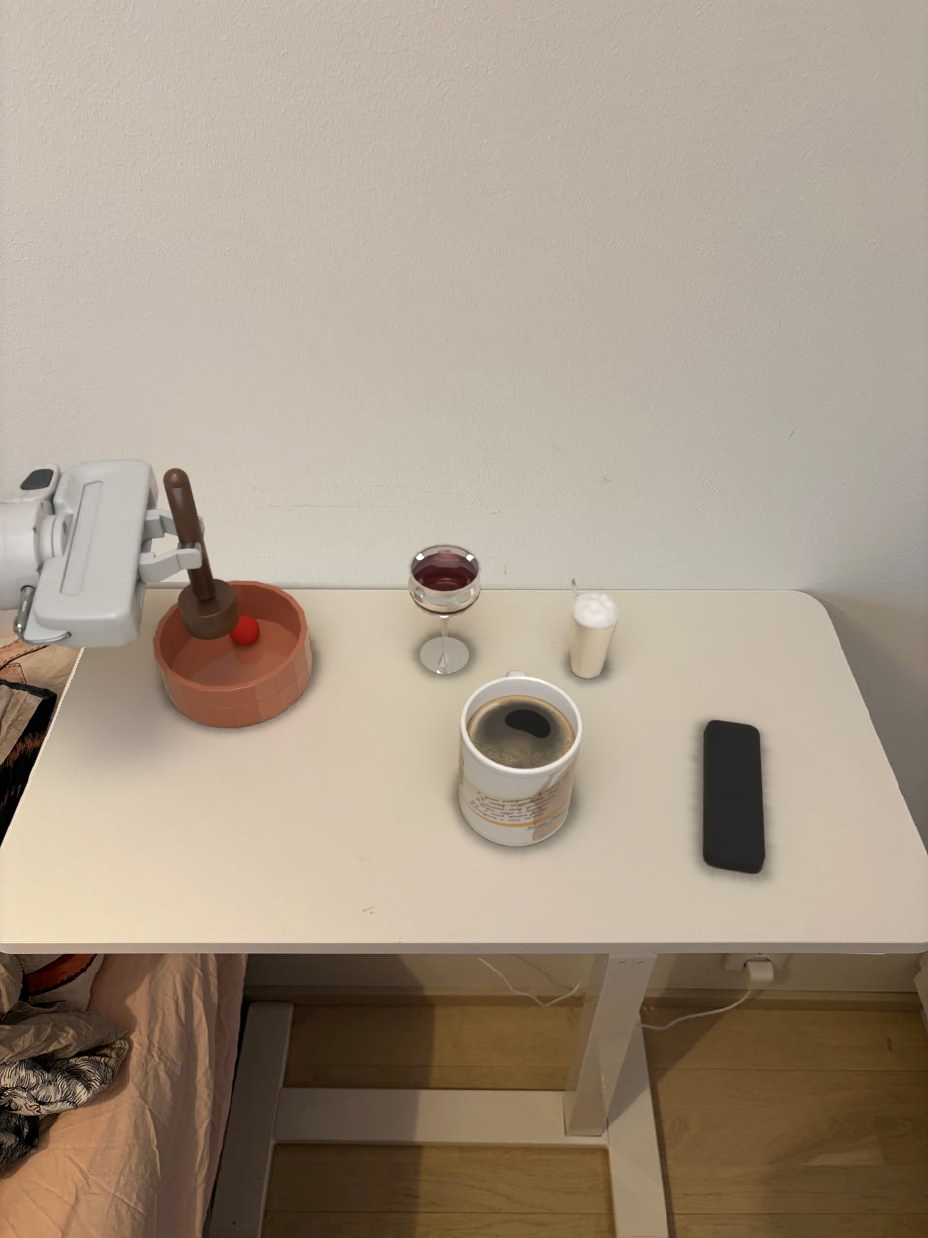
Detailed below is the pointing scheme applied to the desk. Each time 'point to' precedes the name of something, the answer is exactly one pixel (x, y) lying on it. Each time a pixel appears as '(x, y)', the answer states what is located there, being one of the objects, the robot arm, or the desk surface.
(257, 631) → the tomato
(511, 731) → the mug
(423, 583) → the wineglass
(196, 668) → the bowl
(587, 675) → the milkshake
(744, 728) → the remote control
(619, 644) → the desk surface
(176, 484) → the brown plunger
